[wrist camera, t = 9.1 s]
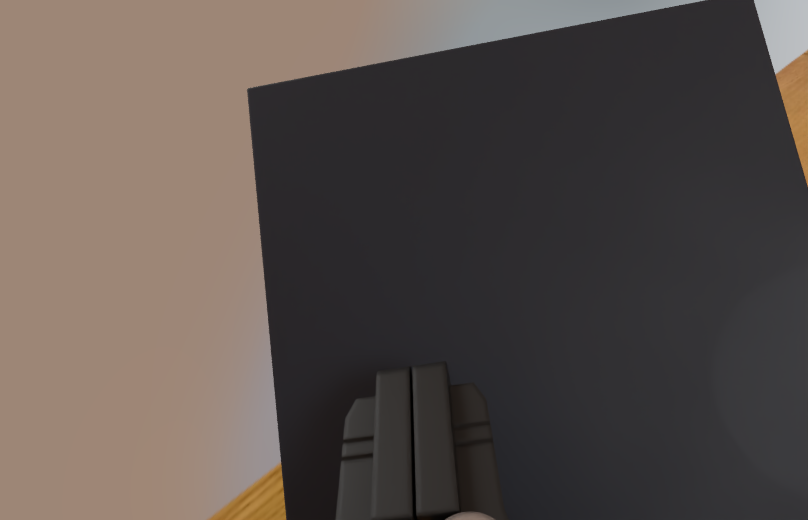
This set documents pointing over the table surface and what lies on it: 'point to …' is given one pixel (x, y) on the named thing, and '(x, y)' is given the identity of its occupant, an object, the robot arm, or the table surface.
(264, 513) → the table surface
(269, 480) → the table surface
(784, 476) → the case lid
